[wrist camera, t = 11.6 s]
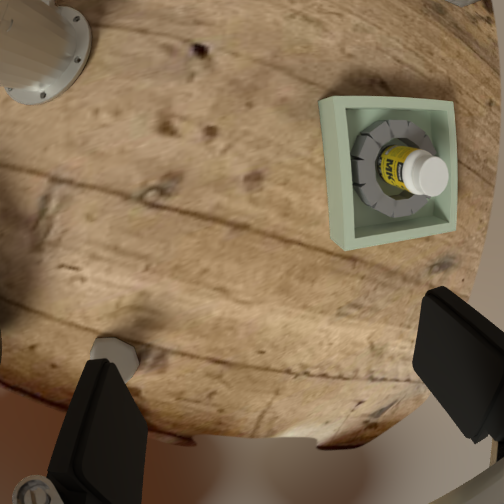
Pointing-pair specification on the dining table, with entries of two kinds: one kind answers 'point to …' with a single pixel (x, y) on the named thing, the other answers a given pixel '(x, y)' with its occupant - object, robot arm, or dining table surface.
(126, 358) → the flask
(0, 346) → the bowl of black rocks
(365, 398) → the dining table surface
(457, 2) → the coffee box
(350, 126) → the socket box
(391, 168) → the supplement bottle
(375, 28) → the dining table surface
